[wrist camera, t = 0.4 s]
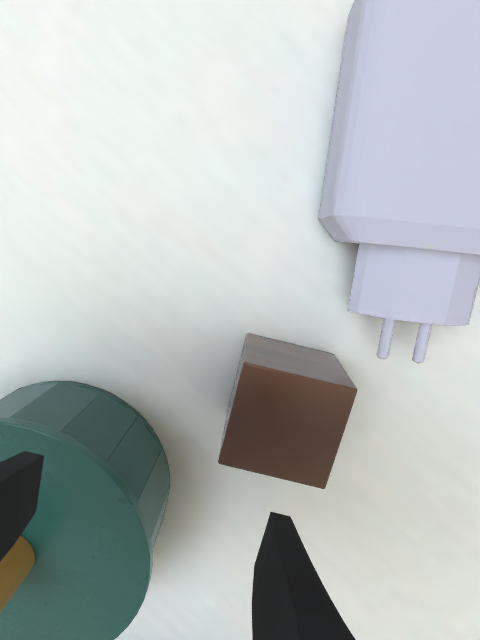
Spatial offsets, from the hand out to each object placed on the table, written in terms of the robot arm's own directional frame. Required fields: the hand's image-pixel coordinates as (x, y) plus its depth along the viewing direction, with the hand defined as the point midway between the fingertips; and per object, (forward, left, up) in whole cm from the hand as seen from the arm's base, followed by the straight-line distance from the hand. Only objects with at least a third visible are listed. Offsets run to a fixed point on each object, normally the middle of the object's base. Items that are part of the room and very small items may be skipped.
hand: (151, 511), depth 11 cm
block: (+1, -4, -10) cm, 11 cm away
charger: (+12, -8, -10) cm, 18 cm away
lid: (-8, +7, -5) cm, 11 cm away
